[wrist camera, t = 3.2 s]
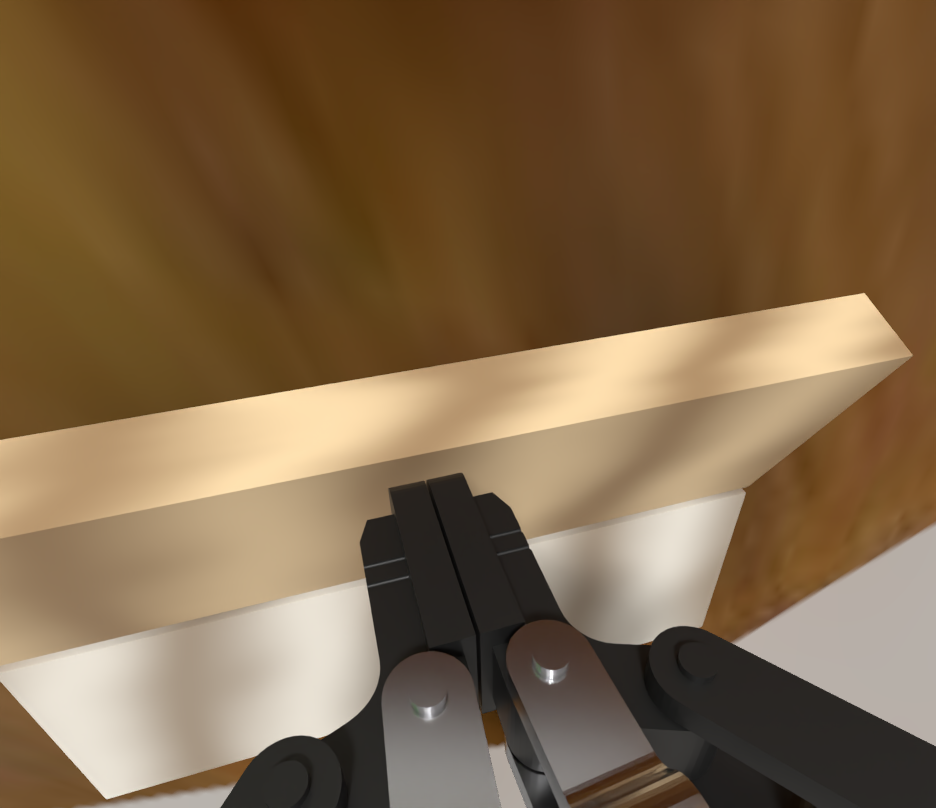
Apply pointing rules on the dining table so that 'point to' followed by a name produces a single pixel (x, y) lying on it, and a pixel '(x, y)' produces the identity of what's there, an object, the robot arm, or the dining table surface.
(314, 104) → the dining table surface
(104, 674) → the whitewashed oak board
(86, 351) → the dining table surface
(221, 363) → the dining table surface
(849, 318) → the honey oak plank
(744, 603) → the dining table surface
